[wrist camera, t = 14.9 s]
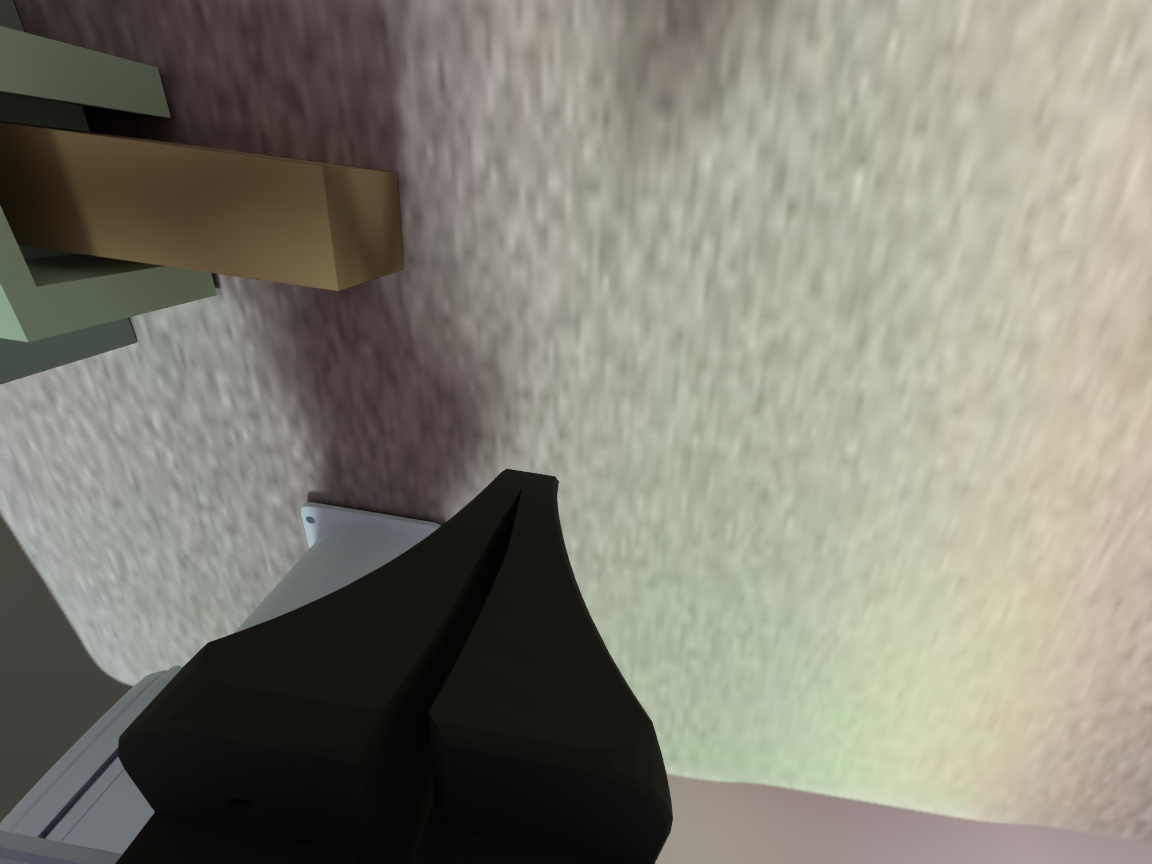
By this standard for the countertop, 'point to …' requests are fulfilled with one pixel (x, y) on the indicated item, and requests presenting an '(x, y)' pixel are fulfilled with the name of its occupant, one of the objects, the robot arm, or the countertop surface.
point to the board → (26, 358)
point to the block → (64, 279)
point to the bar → (199, 207)
